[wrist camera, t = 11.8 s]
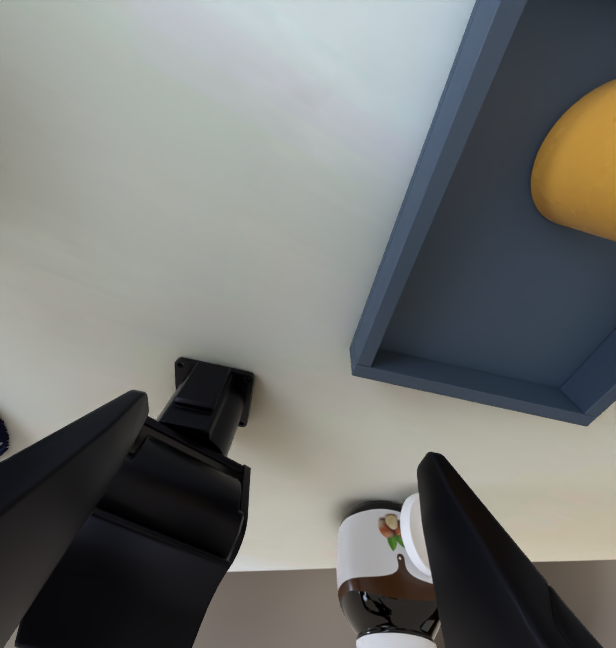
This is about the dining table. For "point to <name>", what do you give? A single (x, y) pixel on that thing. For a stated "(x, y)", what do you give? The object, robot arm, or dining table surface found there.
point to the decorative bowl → (3, 438)
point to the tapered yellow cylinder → (580, 166)
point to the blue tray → (500, 230)
